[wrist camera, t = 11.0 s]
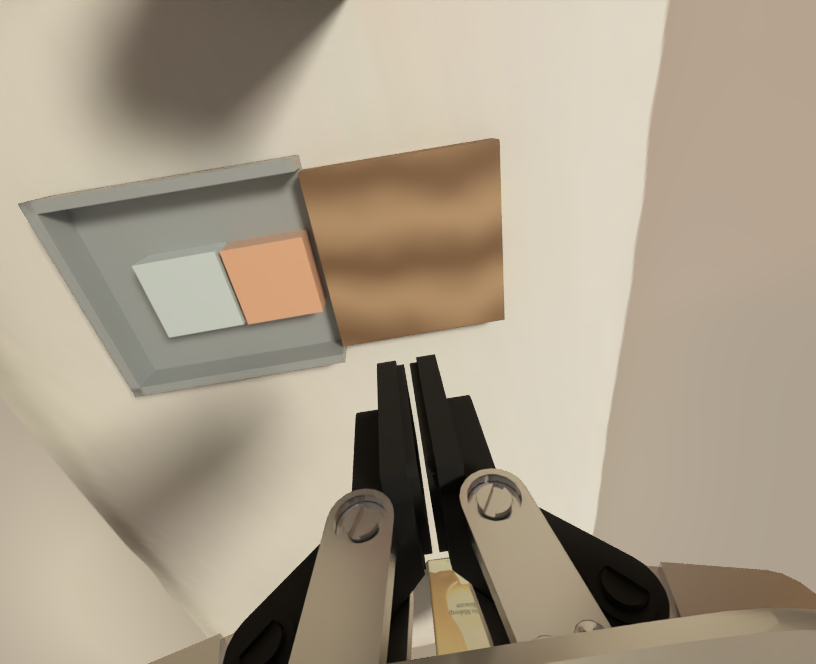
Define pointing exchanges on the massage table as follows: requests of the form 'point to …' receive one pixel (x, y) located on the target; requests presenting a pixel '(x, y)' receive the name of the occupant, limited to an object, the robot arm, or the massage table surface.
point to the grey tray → (175, 230)
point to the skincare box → (454, 611)
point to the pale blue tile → (190, 290)
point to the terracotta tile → (275, 276)
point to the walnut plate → (410, 239)
